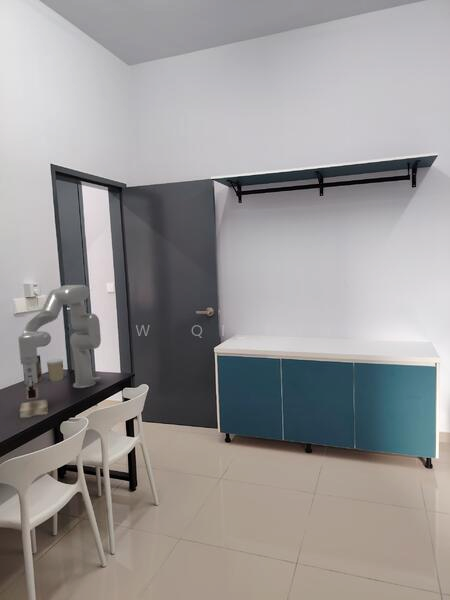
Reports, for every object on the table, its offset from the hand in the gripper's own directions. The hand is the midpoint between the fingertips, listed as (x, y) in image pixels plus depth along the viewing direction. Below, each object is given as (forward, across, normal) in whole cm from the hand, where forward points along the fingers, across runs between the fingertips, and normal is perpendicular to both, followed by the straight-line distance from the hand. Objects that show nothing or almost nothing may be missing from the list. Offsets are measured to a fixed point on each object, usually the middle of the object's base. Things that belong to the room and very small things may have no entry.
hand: (32, 395), depth 209 cm
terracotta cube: (+1, 0, 0) cm, 1 cm away
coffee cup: (+8, +55, -11) cm, 57 cm away
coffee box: (+8, +55, +2) cm, 56 cm away
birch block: (+9, 0, 0) cm, 9 cm away
